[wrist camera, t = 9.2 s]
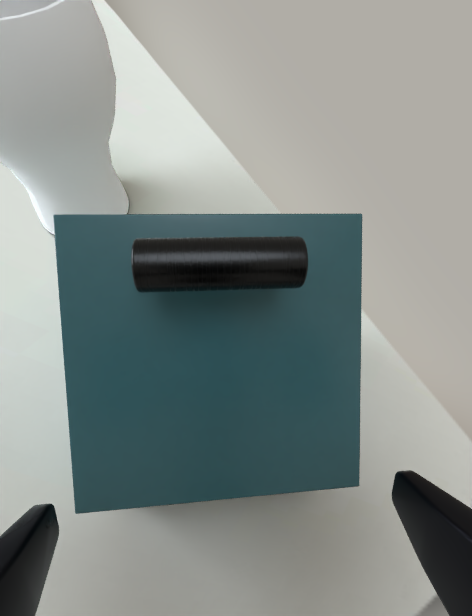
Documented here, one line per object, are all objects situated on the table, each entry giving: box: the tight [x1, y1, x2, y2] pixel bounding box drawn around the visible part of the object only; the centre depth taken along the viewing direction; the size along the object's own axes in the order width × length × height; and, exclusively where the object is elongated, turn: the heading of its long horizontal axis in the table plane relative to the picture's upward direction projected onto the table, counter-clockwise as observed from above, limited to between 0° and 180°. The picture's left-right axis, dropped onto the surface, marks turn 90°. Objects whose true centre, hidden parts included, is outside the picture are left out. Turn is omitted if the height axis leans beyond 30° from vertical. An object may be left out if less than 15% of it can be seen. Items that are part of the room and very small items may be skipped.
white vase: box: [0, 0, 129, 235], centre depth 22 cm, size 11×11×15 cm
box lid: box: [53, 214, 362, 514], centre depth 11 cm, size 11×12×4 cm
